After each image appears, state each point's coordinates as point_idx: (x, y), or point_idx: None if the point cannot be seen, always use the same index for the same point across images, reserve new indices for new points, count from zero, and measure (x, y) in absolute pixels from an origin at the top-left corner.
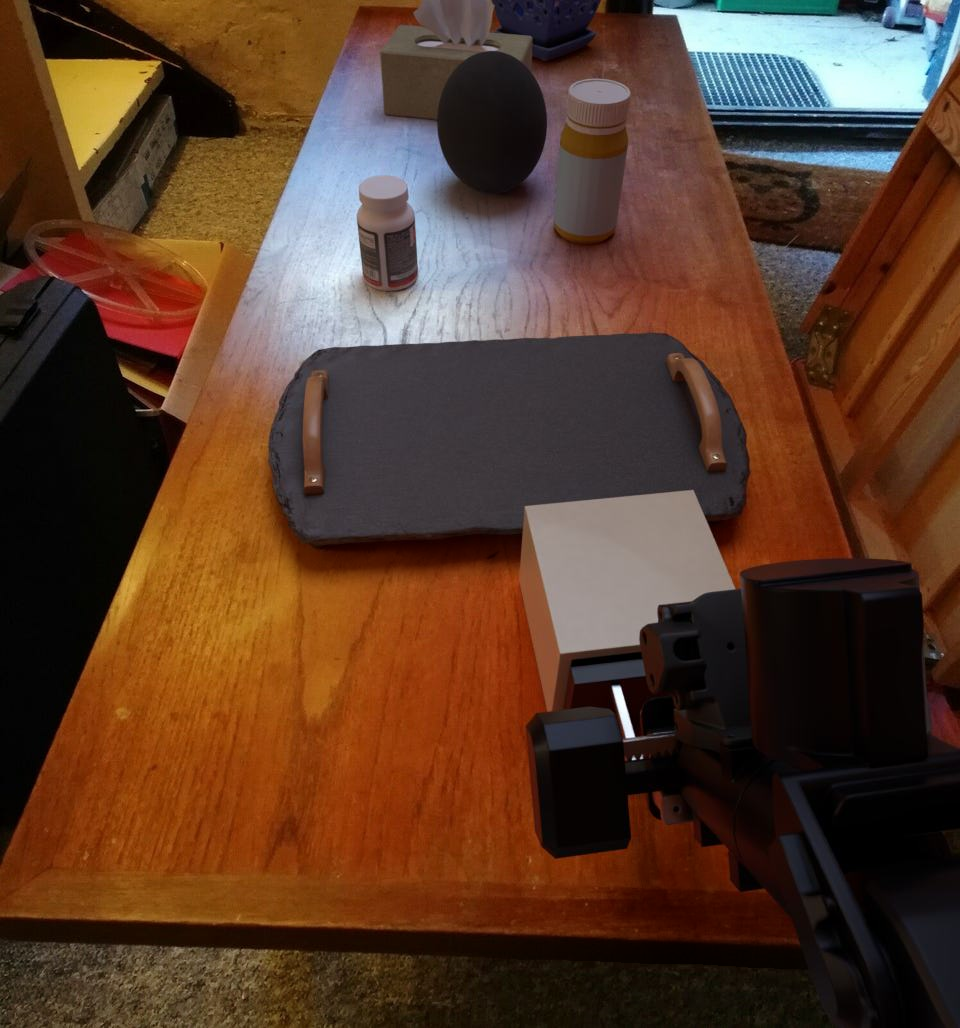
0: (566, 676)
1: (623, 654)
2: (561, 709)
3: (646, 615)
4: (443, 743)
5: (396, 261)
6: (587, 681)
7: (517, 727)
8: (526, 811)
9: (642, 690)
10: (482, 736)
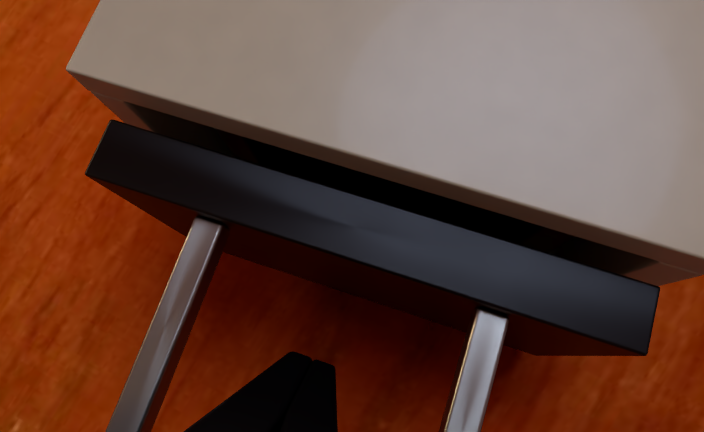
0: None
1: None
2: None
3: (398, 56)
4: (17, 152)
5: None
6: (122, 180)
7: None
8: (66, 337)
9: (306, 257)
10: (84, 169)
